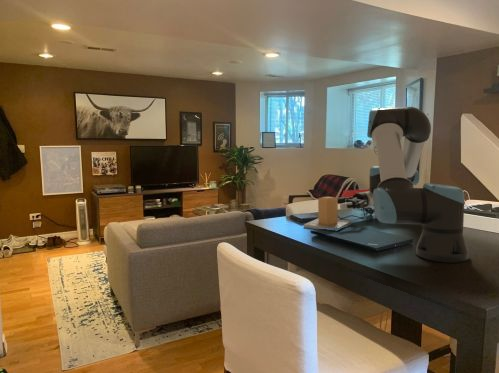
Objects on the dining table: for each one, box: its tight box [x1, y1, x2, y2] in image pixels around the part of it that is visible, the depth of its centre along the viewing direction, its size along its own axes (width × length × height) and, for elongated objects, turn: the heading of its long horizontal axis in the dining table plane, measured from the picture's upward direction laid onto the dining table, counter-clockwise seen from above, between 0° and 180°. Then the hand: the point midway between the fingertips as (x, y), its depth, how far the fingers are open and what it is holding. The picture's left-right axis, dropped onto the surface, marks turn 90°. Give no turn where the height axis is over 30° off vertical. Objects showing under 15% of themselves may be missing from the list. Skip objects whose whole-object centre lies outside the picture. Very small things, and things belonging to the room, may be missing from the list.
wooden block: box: [317, 196, 339, 225], centre depth 165 cm, size 6×6×12 cm
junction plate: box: [303, 218, 352, 230], centre depth 165 cm, size 16×16×4 cm
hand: (329, 204), depth 165 cm, fingers open, 13 cm apart
